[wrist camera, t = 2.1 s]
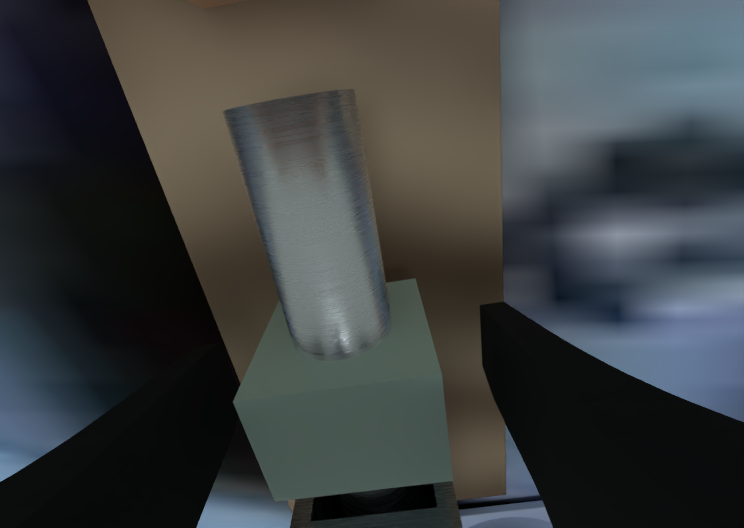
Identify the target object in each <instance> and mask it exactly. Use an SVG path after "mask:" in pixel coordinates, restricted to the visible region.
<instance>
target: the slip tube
mask: <svg viewBox="0 0 744 528" xmlns="http://www.w3.org/2000/svg"><path fill="white" fill-rule="evenodd" d="M222 113H223V116H224V119H225V123H226V126H227V129H228V132H229V136H230V139H231V142H232V146H233V149H234V152H235V155H236V159H237V162H238V165H239V168H240V172H241V175H242V178H243V182H244V185H245V188H246V191H247V195H248V198H249V201H250V205H251V208H252V211H253V214H254V218H255V221H256V224H257V227H258V231H259V234H260V237H261V241H262V244H263V247H264V250H265V254H266V257H267V260H268V264H269V267H270V270H271V273H272V277H273V280H274V283H275V286H276V290H277V293H278V296H279V302H278V304H277V306H276V308H275V310H274V313H273V315H272V317H271V319H270V321H269V324H268V326H267V328H266V330H265V332H264V335H263V337H262V339H261V341H260V343H259V345H258V348H257V350H256V352H255V354H254V356H253V359H252V361H251V363H250V365H249V367H248V370H247V372H246V374H245V376H244V378H243V381H242V383H241V385H240V387H239V389H238V392H237V394H236V396H235V398H234V400H233V403H234V406H235V408H236V411H237V413H238V415H239V418H240V420H241V422H242V425H243V427H244V430H245V432H246V434H247V437H248V439H249V441H250V444H251V446H252V449H253V451H254V453H255V456H256V458H257V460H258V463H259V465H260V467H261V470H262V472H263V475H264V477H265V479H266V482H267V484H268V486H269V489H270V491H271V494H272V496H273V498H274V501H275V502H277V501H285V500H294V499H302V498H311V497H320V496H328V495H337V494H339V496H340V499H341V503H342V506H343V509H344V513H345V516H346V518H348V517H356V516H365V515H374V514H383V513H392V512H401V511H409V510H418V509H423V506H422V500H421V494H420V488H419V485H422V484H431V483H439V482H448V481H453V476H452V467H451V457H450V447H449V438H448V428H447V418H446V409H445V399H444V390H443V380H442V373H441V369H440V365H439V362H438V358H437V354H436V351H435V347H434V344H433V340H432V336H431V333H430V329H429V326H428V322H427V318H426V315H425V311H424V307H423V304H422V300H421V297H420V293H419V289H418V286H417V282H416V279H408V280H401V281H395V282H388V283H386V279H385V273H384V267H383V261H382V255H381V249H380V242H379V236H378V230H377V224H376V218H375V212H374V206H373V199H372V193H371V187H370V181H369V175H368V169H367V163H366V156H365V150H364V144H363V138H362V132H361V126H360V120H359V113H358V107H357V101H356V95H355V89H342V90H333V91H325V92H318V93H311V94H305V95H299V96H293V97H287V98H281V99H275V100H270V101H264V102H259V103H254V104H249V105H244V106H240V107H235V108H231V109H227V110H224V111H222Z"/></svg>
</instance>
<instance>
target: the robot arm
mask: <svg viewBox="0 0 744 528" xmlns="http://www.w3.org/2000/svg"><path fill="white" fill-rule="evenodd" d="M480 325H481V348H482V366H483V369H484V372H485V375H486V378H487V381H488V384H489V387H490V390H491V393H492V395H493V398H494V401H495V403H496V405H497V407H498V409H499V411H500V413H501V415H502V417H503V419H504V421H505V424H506V426H507V428H508V430H509V432H510V434H511V436H512V438H513V440H514V442H515V444H516V446H517V448H518V450H519V452H520V454H521V456H522V458H523V460H524V462H525V464H526V466H527V469H528V471H529V473H530V475H531V477H532V479H533V481H534V483H535V485H536V487H537V490H538V492H539V494H540V496H541V499H542V500H540V501H531V502H523V503H514V504H505V505H496V506H487V507H478V508H469V509H460V510H459V513H460V518H461V522H462V526H463V528H744V422H741V421H739V420H736V419H733V418H731V417H728V416H725V415H723V414H720V413H718V412H715V411H713V410H710V409H707V408H705V407H702V406H700V405H697V404H695V403H692V402H689V401H687V400H685V399H682V398H680V397H677V396H675V395H673V394H670V393H668V392H666V391H663V390H661V389H659V388H657V387H654V386H652V385H650V384H648V383H646V382H644V381H641V380H639V379H637V378H635V377H633V376H630V375H628V374H626V373H624V372H622V371H620V370H618V369H616V368H614V367H612V366H610V365H608V364H606V363H604V362H603V361H601V360H599V359H597V358H595V357H593V356H591V355H590V354H588V353H586V352H584V351H582V350H580V349H579V348H577V347H575V346H573V345H572V344H570V343H568V342H567V341H565V340H563V339H561V338H560V337H558V336H557V335H555V334H553V333H552V332H550V331H548V330H547V329H545V328H544V327H542V326H540V325H539V324H537V323H536V322H534V321H533V320H531V319H529V318H528V317H526V316H525V315H523V314H522V313H520V312H519V311H517V310H516V309H514V308H512V307H511V306H509V305H508V304H506V303H504V302H497V303H490V304H483V305H480ZM237 392H238V387H237V385H236V382H235V380H234V377H233V375H232V372H231V370H230V368H229V365H228V363H227V360H226V358H225V355H224V353H223V350H222V348H221V346H220V343H212V344H205V345H198V346H197V347H195V348H193V349H192V350H190V351H189V352H187V353H186V354H184V355H183V356H182V357H180V358H179V359H177V360H176V361H175V362H173V363H172V364H171V365H169V366H168V367H167V368H165V369H164V370H163V371H161V372H160V373H159V374H157V375H156V376H155V377H153V378H152V379H151V380H149V381H148V382H147V383H146V384H144V385H143V386H142V387H140V388H139V389H138V390H136V391H135V392H134V393H132V394H131V395H130V396H128V397H127V398H126V399H124V400H123V401H122V402H120V403H119V404H117V405H116V406H115V407H113V408H112V409H111V410H109V411H108V412H106V413H105V414H104V415H102V416H101V417H99V418H98V419H97V420H95V421H94V422H92V423H91V424H90V425H88V426H87V427H85V428H84V429H83V430H81V431H80V432H78V433H77V434H75V435H74V436H73V437H71V438H70V439H68V440H67V441H65V442H64V443H62V444H61V445H59V446H58V447H56V448H55V449H53V450H51V451H50V452H48V453H47V454H45V455H44V456H42V457H40V458H39V459H37V460H36V461H34V462H33V463H31V464H29V465H28V466H26V467H25V468H23V469H21V470H20V471H18V472H17V473H15V474H13V475H12V476H10V477H8V478H6V479H5V480H3V481H1V482H0V528H196V527H197V524H198V521H199V519H200V516H201V514H202V511H203V509H204V506H205V504H206V501H207V499H208V496H209V494H210V491H211V489H212V486H213V484H214V481H215V479H216V476H217V474H218V471H219V469H220V466H221V464H222V461H223V459H224V456H225V454H226V451H227V448H228V446H229V443H230V441H231V438H232V435H233V432H234V429H235V425H236V421H237V417H238V413H237V411H236V408H235V406H234V403H233V400H234V398H235V396H236V394H237Z"/></svg>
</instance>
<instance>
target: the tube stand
mask: <svg viewBox="0 0 744 528" xmlns="http://www.w3.org/2000/svg"><path fill="white" fill-rule="evenodd" d="M88 3H89V5H90V8H91V10H92V13H93V15H94V18H95V20H96V23H97V25H98V28H99V30H100V33H101V35H102V38H103V40H104V43H105V45H106V48H107V50H108V53H109V55H110V58H111V60H112V63H113V65H114V68H115V70H116V73H117V75H118V78H119V80H120V83H121V85H122V88H123V90H124V93H125V95H126V98H127V100H128V103H129V105H130V108H131V110H132V113H133V115H134V118H135V120H136V123H137V125H138V128H139V130H140V133H141V135H142V138H143V140H144V143H145V145H146V148H147V150H148V153H149V155H150V158H151V160H152V163H153V165H154V168H155V170H156V173H157V175H158V178H159V180H160V183H161V185H162V188H163V190H164V193H165V195H166V198H167V200H168V203H169V206H170V208H171V211H172V213H173V216H174V218H175V221H176V223H177V226H178V228H179V231H180V233H181V236H182V238H183V241H184V243H185V246H186V248H187V251H188V253H189V256H190V258H191V261H192V263H193V266H194V268H195V271H196V273H197V276H198V278H199V281H200V283H201V286H202V288H203V291H204V293H205V296H206V298H207V301H208V303H209V306H210V308H211V311H212V313H213V316H214V318H215V321H216V323H217V326H218V328H219V331H220V333H221V336H222V338H223V341H224V343H225V346H226V348H227V351H228V353H229V356H230V358H231V361H232V363H233V366H234V368H235V371H236V373H237V376H238V378H239V381H240V383H242V381H243V378H244V376H245V374H246V372H247V370H248V367H249V365H250V363H251V361H252V359H253V356H254V354H255V352H256V350H257V348H258V345H259V343H260V341H261V339H262V337H263V335H264V332H265V330H266V328H267V326H268V324H269V321H270V319H271V317H272V315H273V313H274V310H275V308H276V306H277V304H278V302H279V296H278V293H277V290H276V286H275V283H274V280H273V277H272V273H271V270H270V267H269V264H268V260H267V257H266V254H265V250H264V247H263V244H262V241H261V237H260V234H259V231H258V227H257V224H256V221H255V218H254V214H253V211H252V208H251V205H250V201H249V198H248V195H247V191H246V188H245V185H244V182H243V178H242V175H241V172H240V168H239V165H238V162H237V159H236V155H235V152H234V149H233V146H232V142H231V139H230V136H229V132H228V129H227V126H226V123H225V119H224V116H223V113H222V111H224V110H227V109H231V108H235V107H240V106H244V105H249V104H254V103H259V102H264V101H270V100H275V99H281V98H287V97H293V96H299V95H305V94H311V93H318V92H325V91H333V90H342V89H355V95H356V101H357V107H358V113H359V120H360V126H361V132H362V138H363V144H364V150H365V156H366V163H367V169H368V175H369V181H370V187H371V193H372V199H373V206H374V212H375V218H376V224H377V230H378V236H379V242H380V249H381V255H382V261H383V267H384V273H385V279H386V283H388V282H395V281H401V280H408V279H416V282H417V286H418V289H419V293H420V297H421V300H422V304H423V307H424V311H425V315H426V318H427V322H428V326H429V329H430V333H431V336H432V340H433V344H434V347H435V351H436V354H437V358H438V362H439V365H440V369H441V373H442V380H443V390H444V399H445V409H446V418H447V428H448V438H449V447H450V457H451V467H452V476H453V481H448V482H439V483H431V484H422V485H419V488H420V494H421V500H422V506H423V509H418V510H409V511H401V512H392V513H383V514H374V515H365V516H356V517H348V518H346V516H345V513H344V509H343V506H342V503H341V499H340V496H339V494H337V495H328V496H320V497H311V498H302V499H294V500H287V501H288V503H289V506H290V508H291V511H292V513H293V515H292V520H291V526H290V528H463V526H462V522H461V518H460V513H459V509H458V504H457V500H463V499H472V498H480V497H489V496H498V495H506V450H505V421H504V419H503V417H502V415H501V413H500V411H499V409H498V407H497V405H496V403H495V401H494V398H493V395H492V393H491V390H490V387H489V384H488V381H487V378H486V375H485V372H484V369H483V366H482V348H481V325H480V305H483V304H490V303H497V302H503V230H502V157H501V84H500V11H499V0H88Z"/></svg>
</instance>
